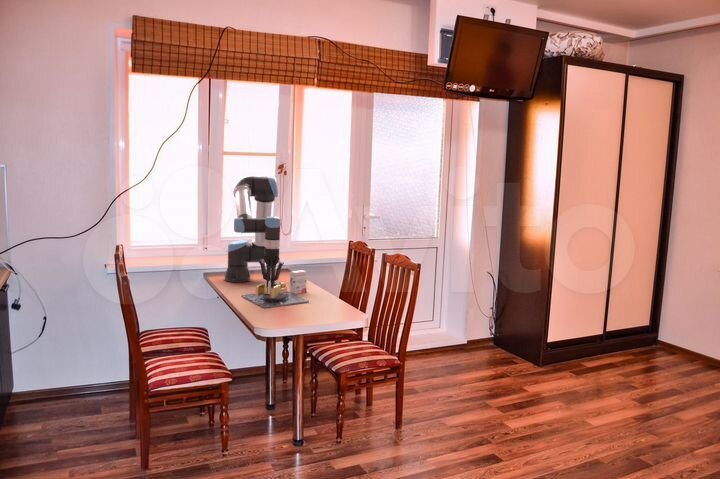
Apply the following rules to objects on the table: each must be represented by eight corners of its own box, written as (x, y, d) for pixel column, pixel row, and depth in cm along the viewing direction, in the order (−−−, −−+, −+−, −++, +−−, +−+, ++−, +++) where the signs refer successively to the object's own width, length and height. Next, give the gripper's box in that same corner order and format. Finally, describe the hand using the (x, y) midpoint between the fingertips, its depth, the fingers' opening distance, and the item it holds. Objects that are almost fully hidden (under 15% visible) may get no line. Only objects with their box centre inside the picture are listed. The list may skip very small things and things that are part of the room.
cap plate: (241, 296, 309) (241, 279, 308) (284, 291, 325) (285, 275, 323) (263, 308, 289) (264, 290, 287) (309, 302, 304) (309, 285, 303)
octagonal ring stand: (269, 288, 313) (270, 279, 312) (288, 290, 310) (289, 281, 309) (254, 295, 295) (254, 286, 294) (274, 298, 292) (274, 288, 292)
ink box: (301, 290, 330) (301, 269, 328) (306, 292, 326) (307, 271, 325) (288, 292, 324) (289, 271, 322) (294, 294, 320) (295, 272, 319)
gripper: (256, 247, 290) (255, 293, 294) (280, 250, 287) (278, 296, 291) (263, 245, 298) (261, 290, 301) (286, 247, 294) (284, 293, 298)
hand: (270, 293), depth 296 cm, fingers closed
